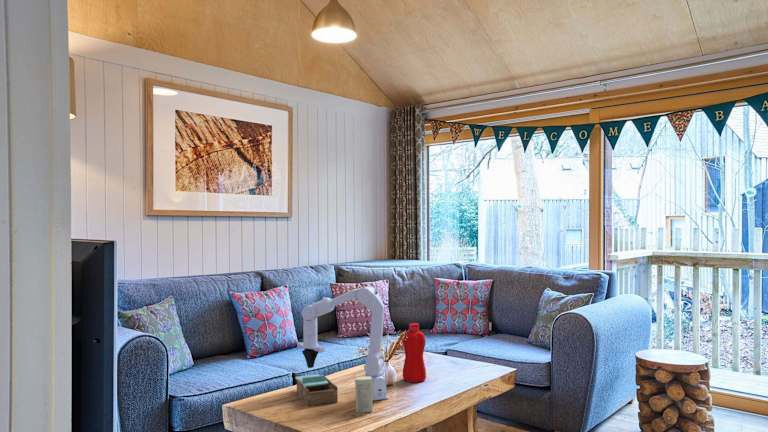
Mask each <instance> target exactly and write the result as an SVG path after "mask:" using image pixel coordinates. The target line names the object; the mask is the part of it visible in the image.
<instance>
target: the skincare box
mask: <svg viewBox="0 0 768 432" xmlns="http://www.w3.org/2000/svg"><path fill="white" fill-rule="evenodd" d="M354 381H355V382H354V383H355V385H354V388H355V411H356V413H369V412H371V413H372V412H373V410H374V406H373V401H372V377H371V376H366V377H365V376H356V377H355V379H354Z"/></svg>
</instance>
